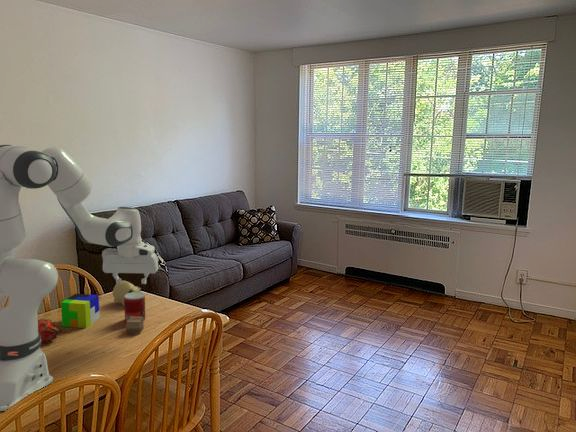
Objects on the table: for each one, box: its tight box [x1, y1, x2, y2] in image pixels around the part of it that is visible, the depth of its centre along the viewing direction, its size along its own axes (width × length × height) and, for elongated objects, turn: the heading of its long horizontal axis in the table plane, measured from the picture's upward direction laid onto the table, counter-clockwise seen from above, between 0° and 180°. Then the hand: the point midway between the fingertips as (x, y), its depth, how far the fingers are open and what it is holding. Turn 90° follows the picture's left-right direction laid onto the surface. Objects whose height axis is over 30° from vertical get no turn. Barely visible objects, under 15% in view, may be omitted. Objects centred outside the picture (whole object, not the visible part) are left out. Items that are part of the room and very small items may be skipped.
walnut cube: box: [125, 317, 145, 335], centre depth 171 cm, size 5×5×5 cm
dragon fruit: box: [38, 317, 62, 344], centre depth 161 cm, size 8×8×12 cm
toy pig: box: [112, 280, 142, 307], centre depth 197 cm, size 10×12×11 cm
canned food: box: [123, 292, 146, 323], centre depth 180 cm, size 8×8×11 cm
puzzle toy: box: [60, 293, 100, 329], centre depth 177 cm, size 10×10×10 cm
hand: (131, 283), depth 168 cm, fingers open, 8 cm apart
